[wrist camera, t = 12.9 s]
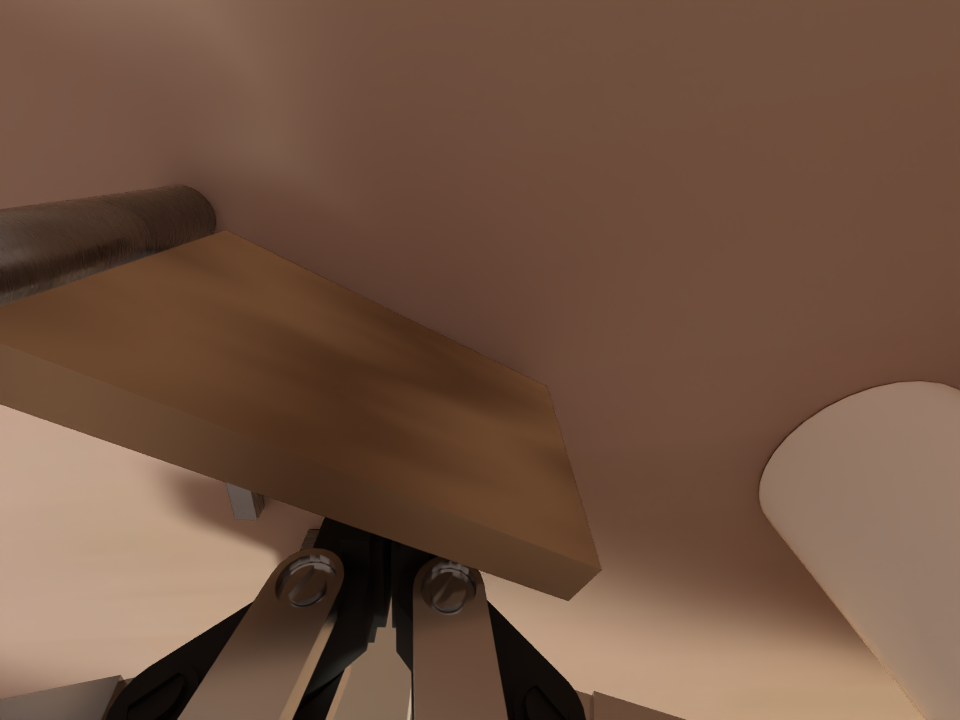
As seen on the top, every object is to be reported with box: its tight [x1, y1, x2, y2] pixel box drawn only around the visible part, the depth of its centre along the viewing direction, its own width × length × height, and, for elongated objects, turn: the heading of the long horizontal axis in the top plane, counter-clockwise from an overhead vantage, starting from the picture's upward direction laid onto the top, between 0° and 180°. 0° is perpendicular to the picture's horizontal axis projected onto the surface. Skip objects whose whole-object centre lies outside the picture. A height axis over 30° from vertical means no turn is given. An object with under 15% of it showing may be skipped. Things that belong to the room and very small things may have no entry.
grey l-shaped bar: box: [0, 185, 264, 520], centre depth 10 cm, size 12×1×8 cm, turn 175°
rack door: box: [0, 230, 602, 601], centre depth 9 cm, size 10×1×6 cm, turn 61°
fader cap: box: [333, 597, 411, 720], centre depth 14 cm, size 2×4×5 cm, turn 85°
